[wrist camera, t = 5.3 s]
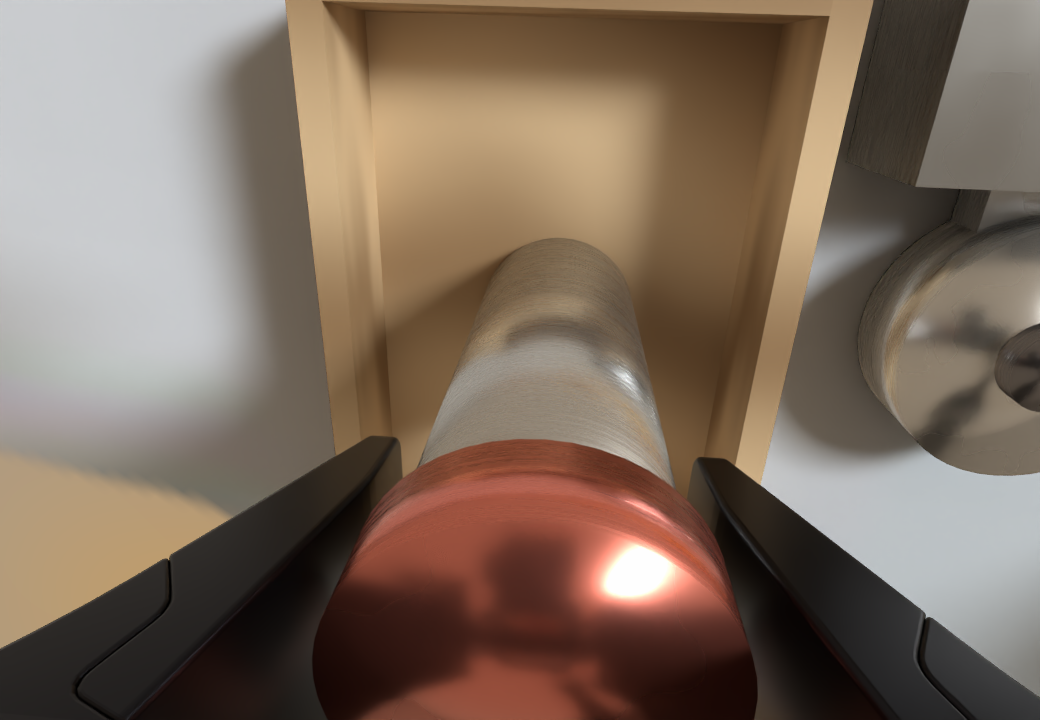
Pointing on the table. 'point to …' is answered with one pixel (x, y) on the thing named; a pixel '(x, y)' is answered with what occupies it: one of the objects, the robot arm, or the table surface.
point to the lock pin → (539, 535)
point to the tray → (570, 188)
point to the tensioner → (959, 229)
